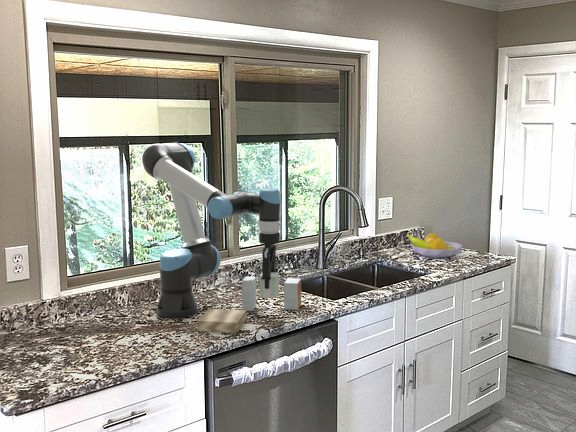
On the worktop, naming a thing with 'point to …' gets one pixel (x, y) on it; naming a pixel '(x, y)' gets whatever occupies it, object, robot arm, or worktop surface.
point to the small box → (292, 294)
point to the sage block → (273, 285)
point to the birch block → (222, 320)
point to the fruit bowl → (434, 246)
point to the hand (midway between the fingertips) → (269, 294)
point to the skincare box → (249, 293)
